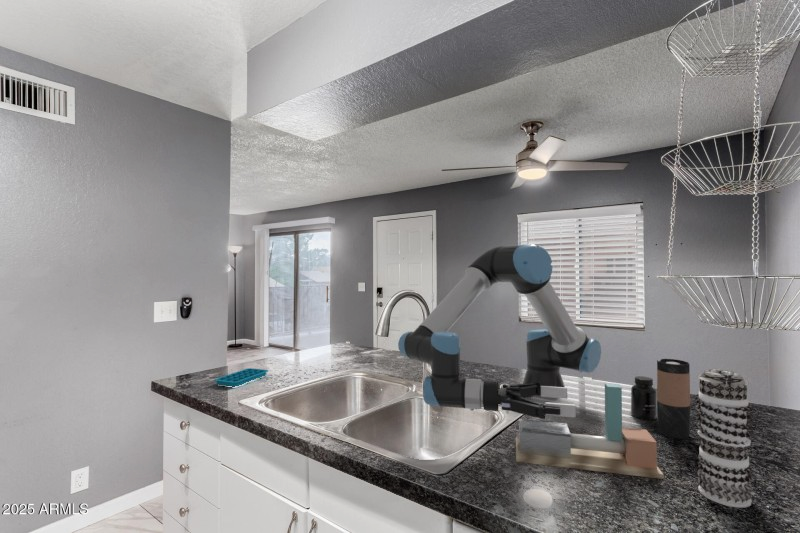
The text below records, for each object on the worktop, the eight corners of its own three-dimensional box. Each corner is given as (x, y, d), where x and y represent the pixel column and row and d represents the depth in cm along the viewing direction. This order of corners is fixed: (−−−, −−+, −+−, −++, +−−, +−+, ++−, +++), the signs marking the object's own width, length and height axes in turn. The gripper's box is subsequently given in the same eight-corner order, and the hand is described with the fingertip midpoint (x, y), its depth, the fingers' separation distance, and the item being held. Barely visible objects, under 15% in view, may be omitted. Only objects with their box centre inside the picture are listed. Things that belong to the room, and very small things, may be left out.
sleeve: (519, 453, 98) (519, 429, 98) (519, 441, 105) (519, 419, 105) (570, 458, 95) (570, 434, 95) (566, 446, 102) (566, 423, 102)
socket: (627, 465, 91) (626, 439, 92) (619, 451, 98) (618, 427, 98) (656, 468, 90) (656, 442, 90) (646, 454, 97) (646, 429, 97)
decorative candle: (729, 512, 76) (727, 379, 76) (684, 486, 85) (683, 368, 85) (767, 505, 77) (765, 376, 78) (719, 481, 86) (718, 365, 87)
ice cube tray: (269, 377, 174) (269, 370, 174) (235, 390, 155) (235, 382, 155) (248, 374, 178) (248, 368, 178) (212, 387, 159) (212, 379, 159)
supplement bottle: (651, 422, 119) (650, 382, 119) (627, 415, 125) (626, 377, 125) (660, 417, 123) (660, 378, 123) (637, 411, 129) (636, 373, 129)
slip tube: (565, 450, 97) (564, 384, 97) (563, 444, 100) (562, 380, 100) (639, 458, 92) (638, 388, 93) (634, 451, 96) (634, 384, 96)
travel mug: (696, 440, 107) (695, 365, 107) (664, 438, 108) (663, 364, 108) (682, 429, 114) (681, 359, 114) (652, 427, 116) (652, 358, 116)
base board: (516, 461, 96) (516, 457, 96) (515, 440, 107) (515, 436, 107) (663, 479, 87) (663, 474, 87) (645, 454, 99) (645, 450, 99)
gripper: (485, 394, 116) (564, 400, 110) (479, 427, 92) (579, 437, 86) (485, 368, 116) (564, 373, 110) (479, 394, 92) (579, 402, 86)
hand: (571, 401), depth 98 cm, fingers open, 13 cm apart
